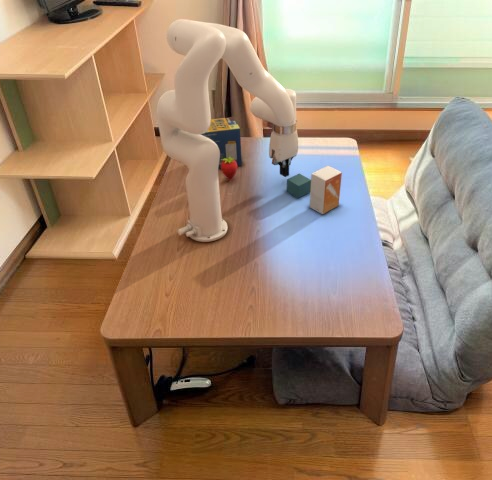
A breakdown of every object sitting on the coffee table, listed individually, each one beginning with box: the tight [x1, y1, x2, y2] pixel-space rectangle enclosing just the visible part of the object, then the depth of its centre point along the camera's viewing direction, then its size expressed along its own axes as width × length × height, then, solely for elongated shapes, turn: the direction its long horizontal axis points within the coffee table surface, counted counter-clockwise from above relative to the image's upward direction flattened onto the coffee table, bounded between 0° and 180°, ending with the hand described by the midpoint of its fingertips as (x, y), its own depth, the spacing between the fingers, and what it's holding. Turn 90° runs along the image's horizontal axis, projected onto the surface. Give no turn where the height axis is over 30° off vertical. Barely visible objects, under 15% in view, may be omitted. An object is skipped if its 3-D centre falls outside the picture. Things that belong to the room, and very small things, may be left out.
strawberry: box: [221, 156, 238, 181], centre depth 174 cm, size 6×8×10 cm
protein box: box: [200, 116, 243, 170], centre depth 183 cm, size 10×15×16 cm
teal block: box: [286, 173, 311, 199], centre depth 170 cm, size 6×6×5 cm
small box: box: [309, 165, 343, 215], centre depth 160 cm, size 8×6×13 cm
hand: (284, 174), depth 174 cm, fingers closed
